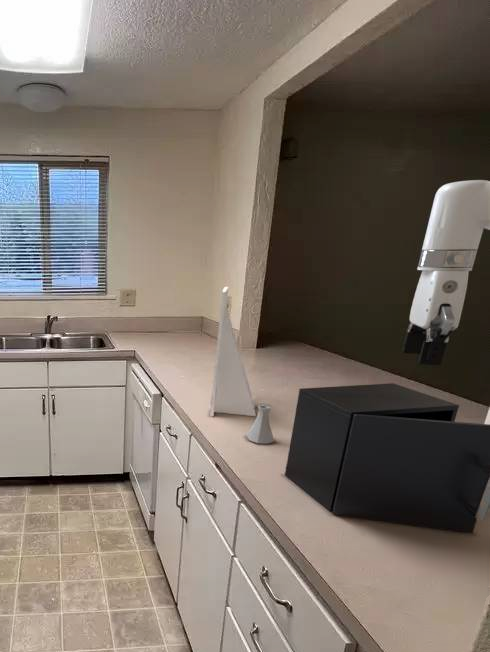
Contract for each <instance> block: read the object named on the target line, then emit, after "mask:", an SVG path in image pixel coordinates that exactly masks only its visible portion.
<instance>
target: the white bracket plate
mask: <svg viewBox="0 0 490 652" xmlns="http://www.w3.org/2000/svg"><path fill="white" fill-rule="evenodd" d="M228 289H229V286H224V288H223V290H222V291H221V292H222V293H221V299H220V300H221V301H220V310H219V311H220V313H219V321H218V330H217V331H218V332H217V341H216V352H215V364H214V372H213V383H212V393H211V403H210V413H209V416H210V417H211V418H212V417H214V415H215V413H220V414H229V415H239V416H248V417H249V416H250V417H257V415H256V411H255V408H256V404H255V400H254V397H253V393H252V391H251V387H250V383H249V381H248V377H247V373H246V370H245V365H244V362H243V358H242V356H241V353H240V349H239V346H238V342H237V338H236V334H235V332H234V328H233V324H232V321H231V317H230V314H229V311H228V307H227V301H228V291H229V290H228Z"/></svg>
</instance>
